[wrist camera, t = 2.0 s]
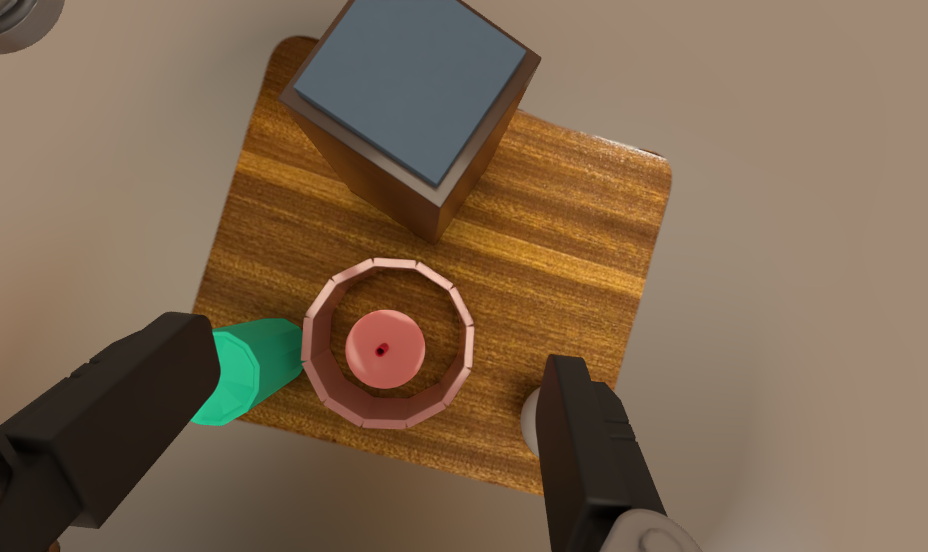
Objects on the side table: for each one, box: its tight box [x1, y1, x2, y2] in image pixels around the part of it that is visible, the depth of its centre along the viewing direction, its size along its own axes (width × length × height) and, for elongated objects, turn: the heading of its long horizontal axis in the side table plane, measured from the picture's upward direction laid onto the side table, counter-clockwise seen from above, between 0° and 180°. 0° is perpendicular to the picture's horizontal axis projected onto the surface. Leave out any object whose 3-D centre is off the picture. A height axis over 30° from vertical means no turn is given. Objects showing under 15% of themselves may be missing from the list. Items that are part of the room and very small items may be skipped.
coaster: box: [293, 0, 526, 188], centre depth 19 cm, size 8×8×1 cm
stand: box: [278, 0, 541, 246], centre depth 28 cm, size 9×9×18 cm
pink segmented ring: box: [301, 257, 475, 429], centre depth 34 cm, size 13×13×6 cm
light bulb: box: [520, 386, 541, 458], centre depth 33 cm, size 6×6×10 cm
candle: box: [190, 318, 305, 426], centre depth 30 cm, size 6×6×12 cm
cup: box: [346, 310, 425, 389], centre depth 31 cm, size 5×5×12 cm
